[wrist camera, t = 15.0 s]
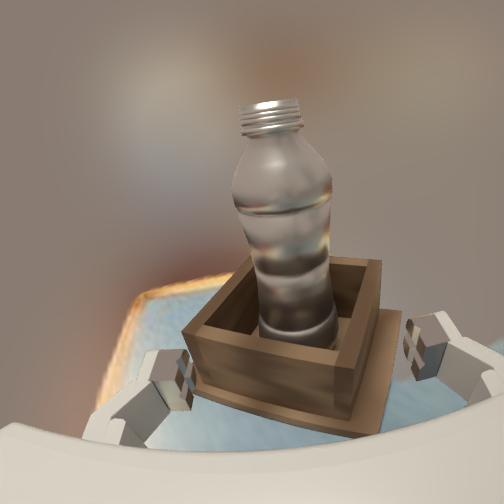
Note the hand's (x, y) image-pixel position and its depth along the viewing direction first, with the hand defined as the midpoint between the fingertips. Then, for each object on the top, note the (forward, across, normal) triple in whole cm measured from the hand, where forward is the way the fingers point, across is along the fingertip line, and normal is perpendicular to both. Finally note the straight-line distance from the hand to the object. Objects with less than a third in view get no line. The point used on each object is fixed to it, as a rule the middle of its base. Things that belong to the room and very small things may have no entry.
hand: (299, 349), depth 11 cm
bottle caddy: (+12, 0, +13) cm, 18 cm away
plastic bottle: (+12, 0, +12) cm, 17 cm away
